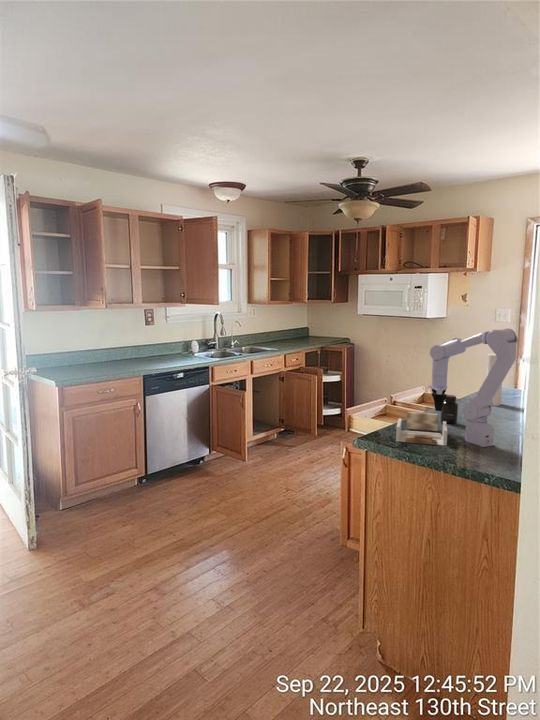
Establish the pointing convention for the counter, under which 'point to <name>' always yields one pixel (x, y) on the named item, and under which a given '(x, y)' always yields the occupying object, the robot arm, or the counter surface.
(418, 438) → the offcut stack
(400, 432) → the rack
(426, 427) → the tall sheet
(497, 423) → the counter surface
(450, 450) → the counter surface
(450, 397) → the supplement bottle
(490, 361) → the cylindrical container
